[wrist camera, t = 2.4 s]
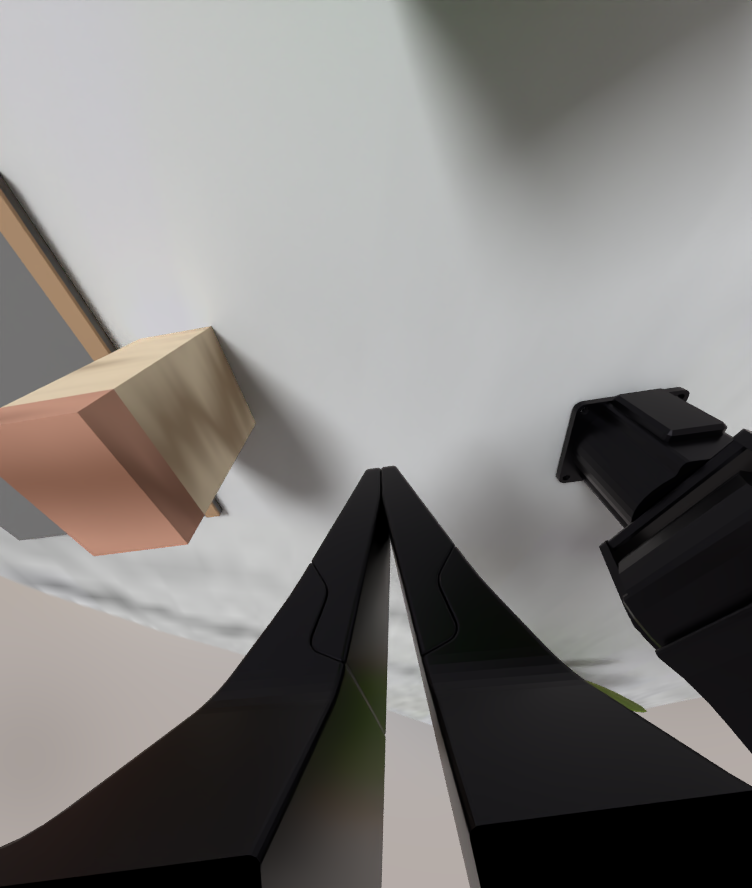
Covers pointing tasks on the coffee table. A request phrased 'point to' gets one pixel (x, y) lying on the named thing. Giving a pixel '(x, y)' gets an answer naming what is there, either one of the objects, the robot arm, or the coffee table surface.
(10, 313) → the mat
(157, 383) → the maple block
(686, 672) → the robot arm
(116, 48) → the coffee table surface
